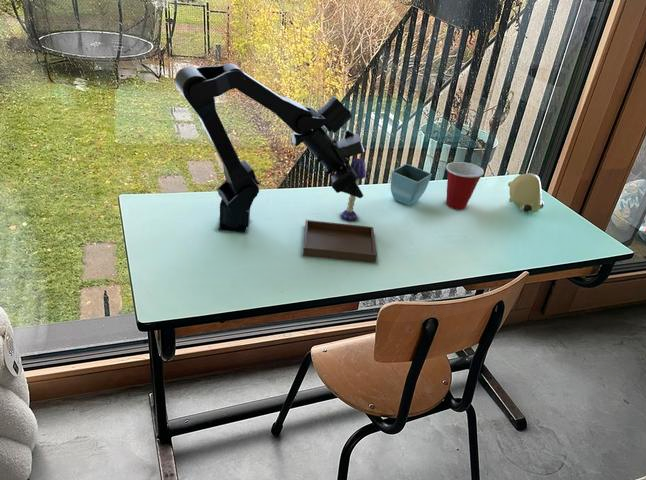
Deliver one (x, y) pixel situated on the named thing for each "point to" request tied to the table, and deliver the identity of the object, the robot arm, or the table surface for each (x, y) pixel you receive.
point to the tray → (339, 241)
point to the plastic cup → (461, 183)
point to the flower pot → (408, 183)
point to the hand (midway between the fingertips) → (359, 189)
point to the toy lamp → (360, 171)
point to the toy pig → (526, 193)
